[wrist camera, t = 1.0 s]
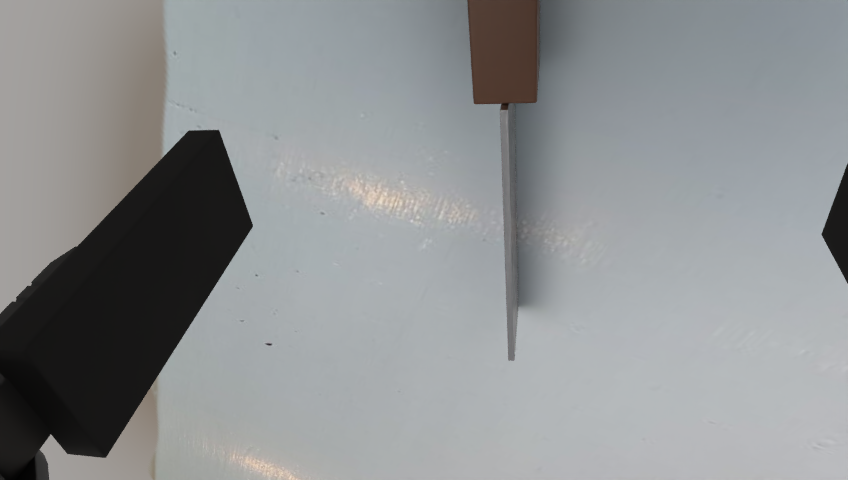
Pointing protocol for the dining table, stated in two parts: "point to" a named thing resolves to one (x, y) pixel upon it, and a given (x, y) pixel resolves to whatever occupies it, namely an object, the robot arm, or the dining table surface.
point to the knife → (506, 103)
